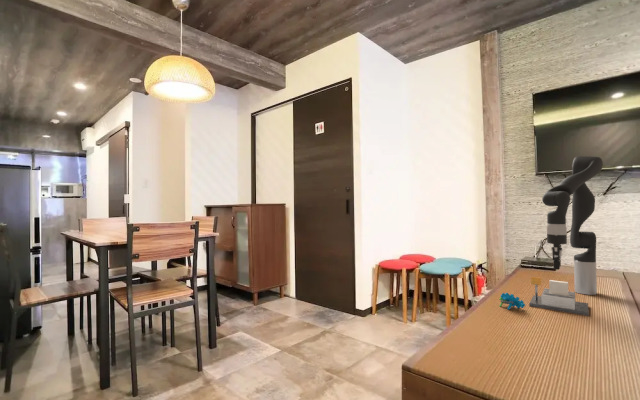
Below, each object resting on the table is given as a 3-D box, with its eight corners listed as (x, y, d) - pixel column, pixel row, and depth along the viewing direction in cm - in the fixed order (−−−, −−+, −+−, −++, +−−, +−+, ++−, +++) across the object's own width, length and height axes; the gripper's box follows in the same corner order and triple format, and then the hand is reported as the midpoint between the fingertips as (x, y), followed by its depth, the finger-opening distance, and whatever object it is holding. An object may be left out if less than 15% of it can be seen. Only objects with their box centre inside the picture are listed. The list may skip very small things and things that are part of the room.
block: (550, 300, 151) (549, 279, 151) (568, 303, 146) (568, 282, 146) (549, 302, 149) (549, 280, 149) (568, 305, 144) (567, 283, 145)
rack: (533, 298, 161) (533, 273, 161) (588, 306, 147) (587, 279, 148) (529, 306, 148) (529, 279, 148) (588, 316, 134) (588, 286, 134)
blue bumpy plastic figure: (530, 307, 141) (517, 292, 139) (525, 318, 139) (511, 303, 137) (508, 303, 151) (495, 290, 150) (503, 314, 149) (490, 300, 147)
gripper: (548, 232, 156) (548, 264, 156) (545, 234, 145) (546, 269, 145) (567, 232, 151) (567, 266, 151) (566, 235, 141) (566, 271, 140)
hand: (557, 267), depth 148 cm, fingers open, 8 cm apart
